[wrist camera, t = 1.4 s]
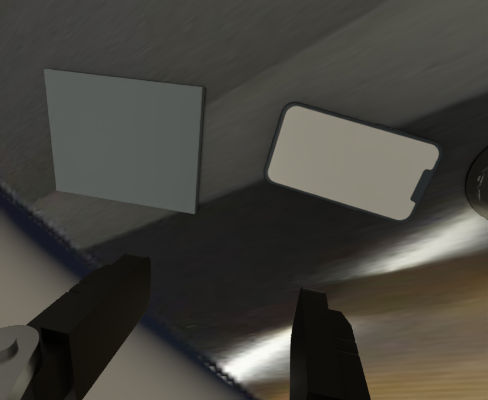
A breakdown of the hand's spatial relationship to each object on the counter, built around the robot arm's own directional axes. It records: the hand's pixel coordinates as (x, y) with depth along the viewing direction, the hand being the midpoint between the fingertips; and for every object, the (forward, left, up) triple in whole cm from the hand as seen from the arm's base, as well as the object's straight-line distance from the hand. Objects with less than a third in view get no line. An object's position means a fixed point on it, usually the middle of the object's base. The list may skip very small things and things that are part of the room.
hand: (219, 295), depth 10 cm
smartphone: (0, -3, -23) cm, 23 cm away
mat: (+17, 0, -23) cm, 29 cm away
